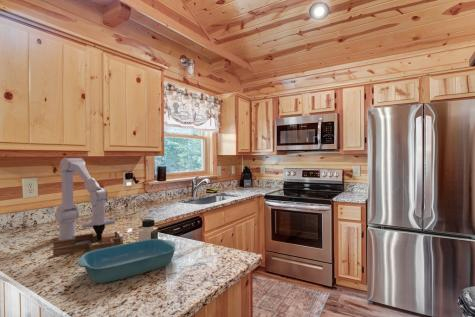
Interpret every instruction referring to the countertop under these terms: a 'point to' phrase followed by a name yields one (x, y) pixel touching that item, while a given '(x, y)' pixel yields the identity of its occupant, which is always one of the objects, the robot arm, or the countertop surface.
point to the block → (107, 237)
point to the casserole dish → (127, 259)
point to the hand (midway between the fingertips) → (98, 240)
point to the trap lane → (84, 243)
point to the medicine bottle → (148, 230)
